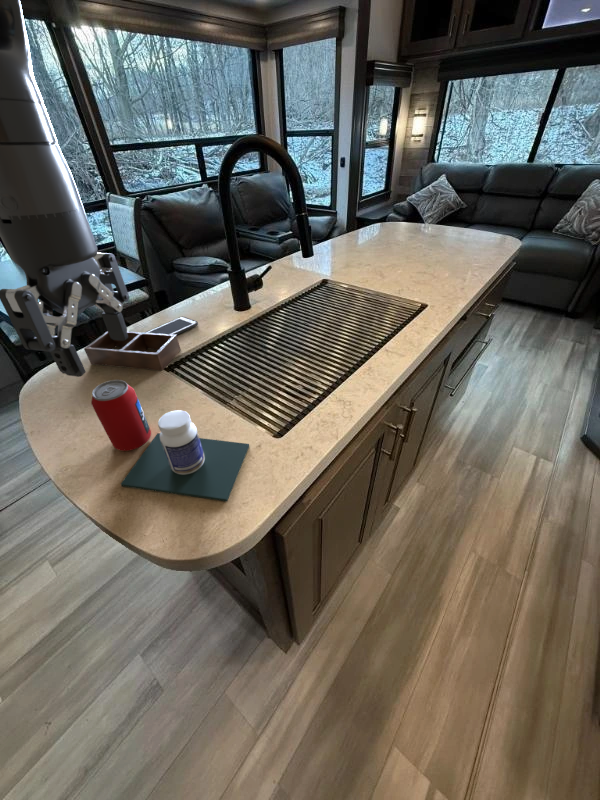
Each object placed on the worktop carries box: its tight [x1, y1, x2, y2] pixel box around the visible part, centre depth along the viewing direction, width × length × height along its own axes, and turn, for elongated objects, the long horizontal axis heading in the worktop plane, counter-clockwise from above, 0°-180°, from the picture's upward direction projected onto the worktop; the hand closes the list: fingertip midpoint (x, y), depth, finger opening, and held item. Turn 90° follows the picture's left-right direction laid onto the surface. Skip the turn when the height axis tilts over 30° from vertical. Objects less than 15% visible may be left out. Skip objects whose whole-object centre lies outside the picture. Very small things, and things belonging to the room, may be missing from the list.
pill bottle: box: [157, 409, 205, 475], centre depth 54 cm, size 6×6×10 cm
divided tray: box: [83, 330, 182, 371], centre depth 84 cm, size 19×10×4 cm, turn 80°
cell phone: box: [144, 315, 199, 336], centre depth 97 cm, size 8×15×1 cm, turn 144°
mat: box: [120, 432, 250, 503], centre depth 57 cm, size 18×12×1 cm, turn 80°
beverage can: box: [90, 379, 152, 452], centre depth 58 cm, size 7×7×12 cm
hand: (99, 355), depth 41 cm, fingers open, 8 cm apart
